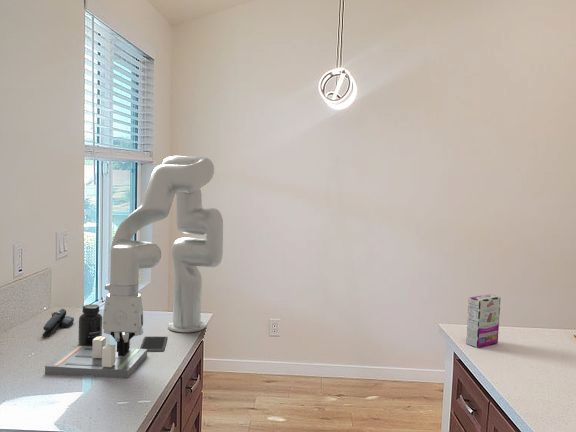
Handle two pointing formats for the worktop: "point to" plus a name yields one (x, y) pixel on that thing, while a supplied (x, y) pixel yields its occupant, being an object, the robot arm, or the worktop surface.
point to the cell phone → (154, 344)
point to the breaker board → (94, 363)
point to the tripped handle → (98, 346)
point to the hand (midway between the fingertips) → (122, 354)
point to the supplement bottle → (89, 325)
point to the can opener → (57, 322)
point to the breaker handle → (108, 355)
